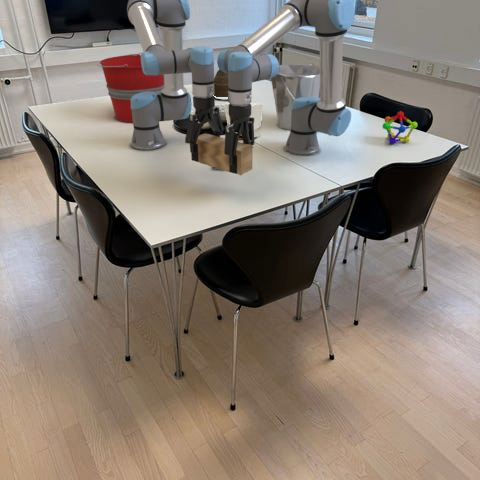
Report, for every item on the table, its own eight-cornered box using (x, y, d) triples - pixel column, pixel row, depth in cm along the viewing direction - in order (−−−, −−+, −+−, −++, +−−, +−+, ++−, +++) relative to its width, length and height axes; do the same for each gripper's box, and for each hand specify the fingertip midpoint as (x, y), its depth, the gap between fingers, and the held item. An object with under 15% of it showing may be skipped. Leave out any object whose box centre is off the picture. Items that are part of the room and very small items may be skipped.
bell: (227, 105, 294) (202, 96, 282) (238, 66, 289) (213, 55, 277) (243, 108, 280) (217, 98, 268) (255, 66, 275) (229, 55, 263)
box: (193, 161, 164) (192, 138, 159) (205, 155, 169) (205, 133, 164) (240, 175, 153) (240, 151, 148) (252, 169, 158) (252, 145, 153)
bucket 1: (115, 106, 261) (107, 52, 245) (174, 107, 260) (170, 52, 244) (97, 124, 232) (87, 64, 216) (164, 125, 231) (159, 65, 215)
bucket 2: (296, 138, 215) (301, 78, 201) (255, 124, 234) (256, 68, 219) (335, 125, 232) (342, 70, 217) (294, 113, 251) (297, 61, 236)
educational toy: (377, 146, 209) (379, 114, 202) (384, 138, 219) (386, 107, 211) (411, 149, 202) (415, 116, 195) (417, 141, 212) (420, 109, 204)
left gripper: (188, 104, 142) (191, 168, 154) (233, 90, 158) (233, 149, 170) (171, 101, 146) (176, 163, 158) (217, 87, 162) (218, 144, 174)
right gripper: (230, 112, 136) (230, 181, 148) (266, 99, 149) (264, 163, 161) (211, 108, 140) (213, 175, 152) (248, 95, 153) (247, 158, 165)
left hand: (206, 155), depth 164 cm, fingers open, 11 cm apart
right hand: (239, 169), depth 157 cm, fingers closed on box, 7 cm apart
